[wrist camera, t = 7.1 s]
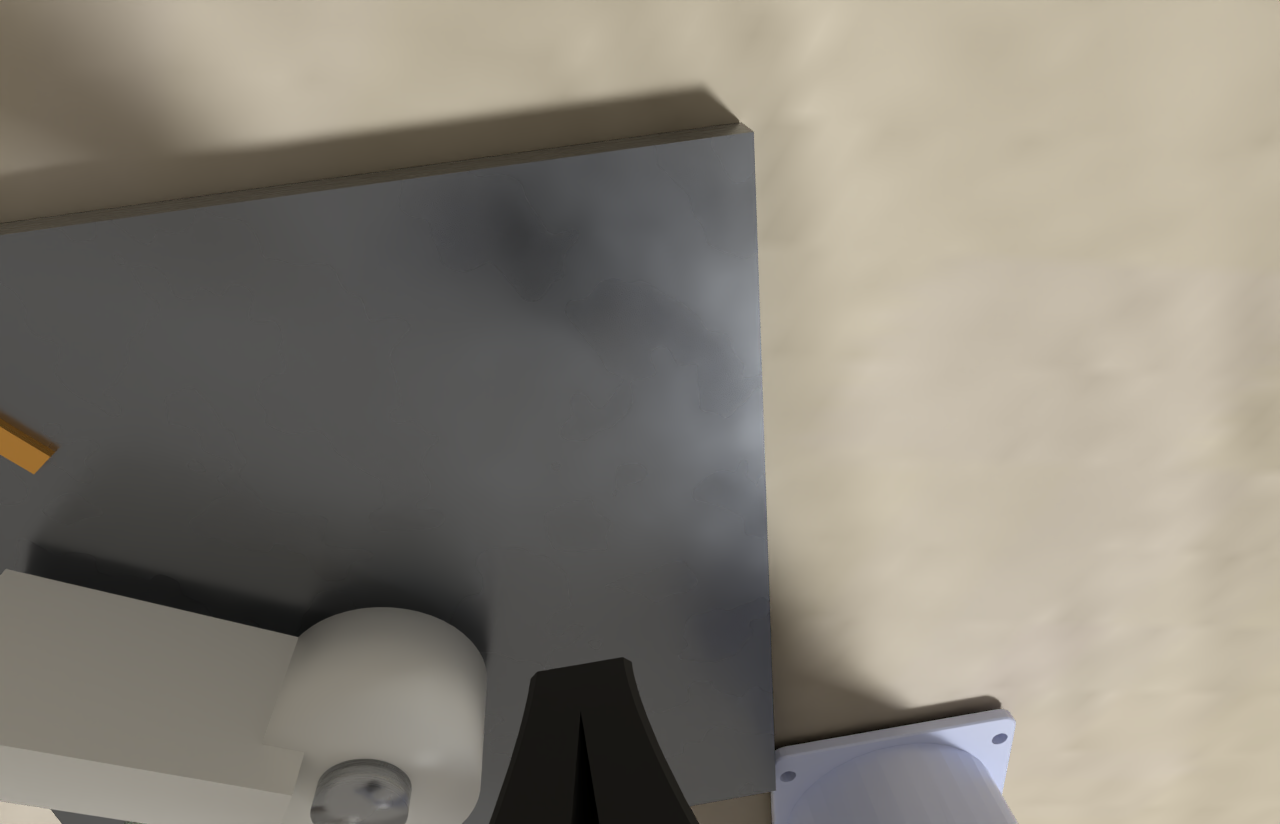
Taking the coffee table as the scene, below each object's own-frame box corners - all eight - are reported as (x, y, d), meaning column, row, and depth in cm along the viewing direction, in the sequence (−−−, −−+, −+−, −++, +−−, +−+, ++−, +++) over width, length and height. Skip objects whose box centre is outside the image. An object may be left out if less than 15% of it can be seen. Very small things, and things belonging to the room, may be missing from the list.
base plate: (767, 763, 26) (800, 872, 23) (141, 874, 25) (85, 1004, 22) (741, 122, 16) (792, 161, 13) (-312, 266, 15) (-536, 347, 12)
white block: (516, 636, 20) (513, 779, 16) (448, 763, 22) (433, 914, 18) (14, 508, 16) (-123, 655, 13) (-11, 672, 18) (-137, 837, 15)
